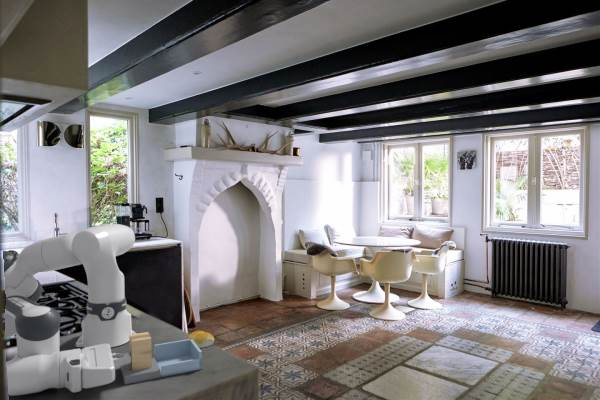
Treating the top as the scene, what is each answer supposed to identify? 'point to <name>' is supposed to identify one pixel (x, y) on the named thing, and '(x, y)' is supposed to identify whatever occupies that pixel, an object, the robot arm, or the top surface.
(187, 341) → the tray
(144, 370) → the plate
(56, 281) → the top surface
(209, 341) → the bread roll
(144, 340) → the oak block
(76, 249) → the robot arm
